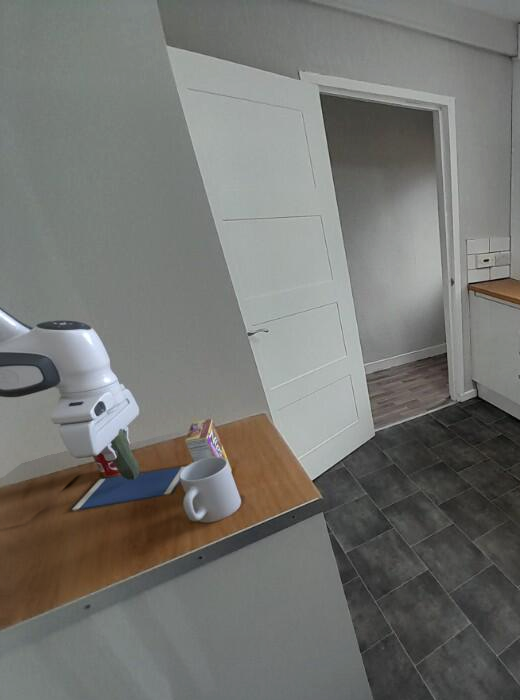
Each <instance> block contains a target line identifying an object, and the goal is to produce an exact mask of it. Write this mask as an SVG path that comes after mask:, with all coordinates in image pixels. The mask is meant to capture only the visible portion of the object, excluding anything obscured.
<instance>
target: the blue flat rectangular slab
mask: <svg viewBox="0 0 520 700" xmlns="http://www.w3.org/2000/svg"><path fill="white" fill-rule="evenodd" d="M186 466H187V465H186ZM186 466H180V467H174V468H173V467H172V468H168V469H161V470H155V471H147V472H139V474H138V476H137V477H135V479H134V480H127V479H126V478H124V477H123V476H122V475H121V476H113V477H106V478H100V479H98V480H97V481H96V482H95V483H94V484H93V485H92V486H91V488H90V489H88V491H87V492H86V493H85V494H84V495H83V496H82V497H81V499H80V500H78V502H77V503H76V504H75V505H74V506H73V507H72V508H71V509H70V510H71V512H79V511H84V510H89V509H95V508H100V507H107V506H112V505H119V504H123V503H124V504H125V503H129V502H136V501H140V500H147V499H153V498H159V497H163V496H165V497H166V496H170V495H173V493H174V492H175V490H176V488H177V487H178V485H179V483H180V482H181V481H180V479H179V474H180V472H181V471H182V470H183V469H184V468H185V467H186Z"/></svg>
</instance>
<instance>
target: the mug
mask: <svg viewBox="0 0 520 700" xmlns="http://www.w3.org/2000/svg"><path fill="white" fill-rule="evenodd" d="M228 462H229V461H228ZM228 462H227V460H226V459H224V458H222V457H210V458H205V459H201V460H198V461H196V462H193V461H192V462H191V463H189V464H187V465H186V467H185V466H184V467H185V468H184V469H183V470H182V471H181V472H180V474H179V479H180V481H179V482H180V484H181V487H182V489H183V491H184V493H185V495H184V497H183V509H184V512H185V514H186V516H187V518H188V519H189V520H190V521H192V522H199V523H204V524H205V523H206V524H208V523H215V522H219V521H222V520H224V519H226V518H229V517H230V516H231V515H233V514H234V513H235V512H237V510H238V509H239V508H240V507H241V504H242V499H241V495H240V493H239V490H238V487H237V484H236V482H235V478H234V476H233V473H232V472H231V470H230V467H231V466H230V467H229V464H230V463H229V464H228Z"/></svg>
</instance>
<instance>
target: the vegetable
mask: <svg viewBox="0 0 520 700" xmlns="http://www.w3.org/2000/svg"><path fill="white" fill-rule="evenodd" d="M111 444H112V446H110V447H111V448H112V449H113V450H116V449H117V451H118V454H119V456H118V457H117V458H116V459H115V460H112V461H113V463H114V465H115V467H116V468H117V470H118V471H119V472H120V474H119V475H121V476H123V477H124V478H126V479H127V480H134V479H135V477H137V476H138V474H140V473H141V468H140V465H139V463H138V461H137V459H136V457H135V456H134V454H133V452H132V450H131V448H130V445H128V443H127V440H126V438H125V435H124V432H123V430H122V429H120V430H119V433H118V435H117V436H116V437H115V438H114V439H113V440H112V441H111Z"/></svg>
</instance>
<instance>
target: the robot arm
mask: <svg viewBox="0 0 520 700" xmlns="http://www.w3.org/2000/svg"><path fill="white" fill-rule="evenodd" d="M110 359H111V358H110V357H109V354H108V352H107V350H106V347H105V345H104V343H103V341H102V340H101V338H100V336H99V335H98V333H97V332H96V330H95V329H94V328H93V327H91V326H90V325H89V324H86V323H84V322H80V321H77V320H76V321H75V320H51V321H49V320H48V321H43V322H40V323H38V324H36V325H35V326H34V327H32V326H30V325H28V324H26V323H24V322H22V321H20V320H19V319H17V318H16V317H15V316H13V315H12V314H10V313H9V312H8V311H6V310H5V309H4V308H2V307H0V397H1V398H19V397H24V396H28V395H32V394H36V393H41V392H43V391H46V390H49V389H52V388H56V389H57V390H58V392H59V394H60V396H59V398H58V401H57V404H56V406H55V408H54V409H53V411H52V412H51V413H50V417H49V418H50V420H51V422H52V423H53V424H54V425H58V426H59V427H58V431H59V432H58V433H59V435H60V438H61V440H62V442H63V444H64V446H65V447H66V449H67V451H68V453H69V454H70V455H71V456H72V457H73V458H76V459H85V458H87V459H88V458H93V456H97V455H98V454H99V453H101V454H103V455H104V457H105V460H107V461H110V460H115V459H116V458H117V457H118V456H119V454H118V451H117V449H116V450H113V449H112V448H111V447H110V446H112V444H111V441H112V440H113V439H114V438H115V437H116V436H117V435H118V433H119V430H120V429H122V430H123V432H124V435H125V438H126V440H127V443H128V446H130V444H131V442H130V439H129V427H128V426H129V425H130V424H131V423H132V422H133V421H134V420H135V419H136V418H137V417H138V416H139V415H140V407H139V405H138V403H137V401H136V399H135V397H134V395H133V393H132V392H131V391H130V389H128V388H125V385H124V384H123V383H121V382H119V379H118V377H117V375H116V374H115V373H114V372H113V370H112V369H111V360H110Z"/></svg>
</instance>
